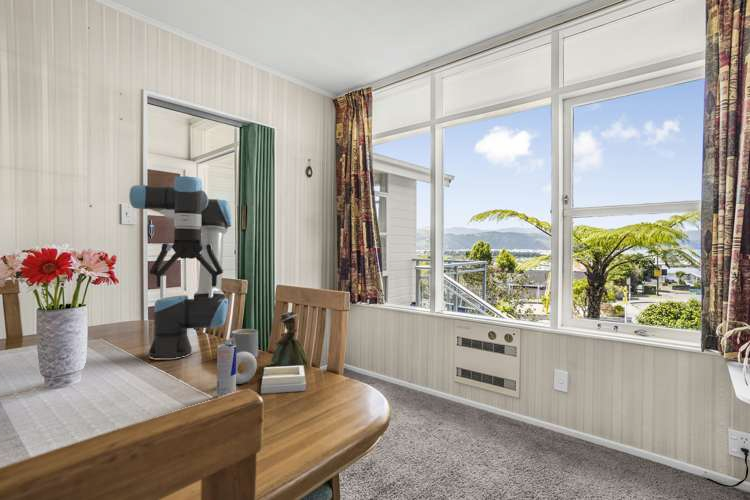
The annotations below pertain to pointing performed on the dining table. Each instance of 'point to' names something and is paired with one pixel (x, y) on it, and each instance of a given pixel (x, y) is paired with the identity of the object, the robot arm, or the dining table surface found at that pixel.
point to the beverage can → (226, 369)
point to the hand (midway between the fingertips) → (187, 297)
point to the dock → (283, 379)
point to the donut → (250, 367)
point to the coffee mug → (245, 341)
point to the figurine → (289, 345)
